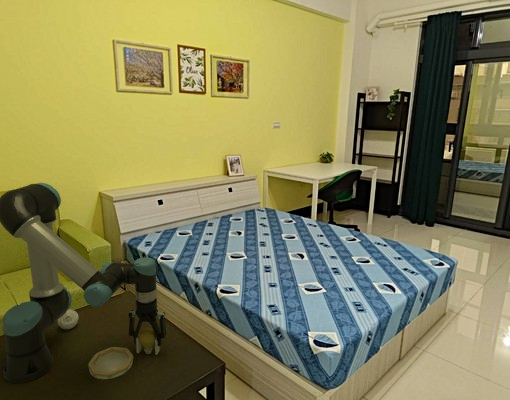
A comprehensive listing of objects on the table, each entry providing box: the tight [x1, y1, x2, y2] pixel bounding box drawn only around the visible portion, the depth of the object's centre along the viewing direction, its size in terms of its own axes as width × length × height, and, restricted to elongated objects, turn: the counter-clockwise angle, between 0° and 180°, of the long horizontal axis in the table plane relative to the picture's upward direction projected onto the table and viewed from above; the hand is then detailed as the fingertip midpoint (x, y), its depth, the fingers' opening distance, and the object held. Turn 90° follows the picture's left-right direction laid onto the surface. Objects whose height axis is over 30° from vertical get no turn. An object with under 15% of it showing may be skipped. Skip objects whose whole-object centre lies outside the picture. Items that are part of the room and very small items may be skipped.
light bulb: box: [139, 327, 156, 355], centre depth 138 cm, size 7×7×10 cm
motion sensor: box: [56, 308, 80, 330], centre depth 151 cm, size 8×8×8 cm
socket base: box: [87, 346, 134, 380], centre depth 131 cm, size 15×15×2 cm
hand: (148, 351), depth 138 cm, fingers closed on light bulb, 7 cm apart
